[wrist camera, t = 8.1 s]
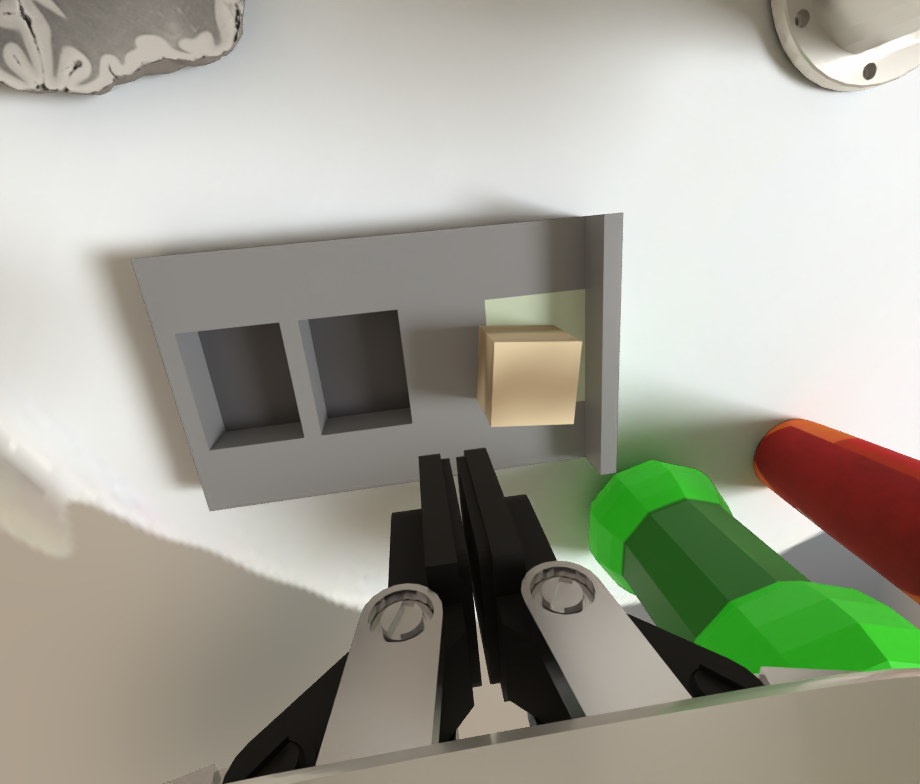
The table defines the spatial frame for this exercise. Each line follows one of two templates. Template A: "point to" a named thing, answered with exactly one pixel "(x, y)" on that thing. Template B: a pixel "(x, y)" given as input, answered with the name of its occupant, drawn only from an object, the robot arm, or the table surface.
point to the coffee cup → (849, 494)
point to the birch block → (527, 375)
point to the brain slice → (110, 40)
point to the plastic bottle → (733, 580)
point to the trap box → (378, 352)
